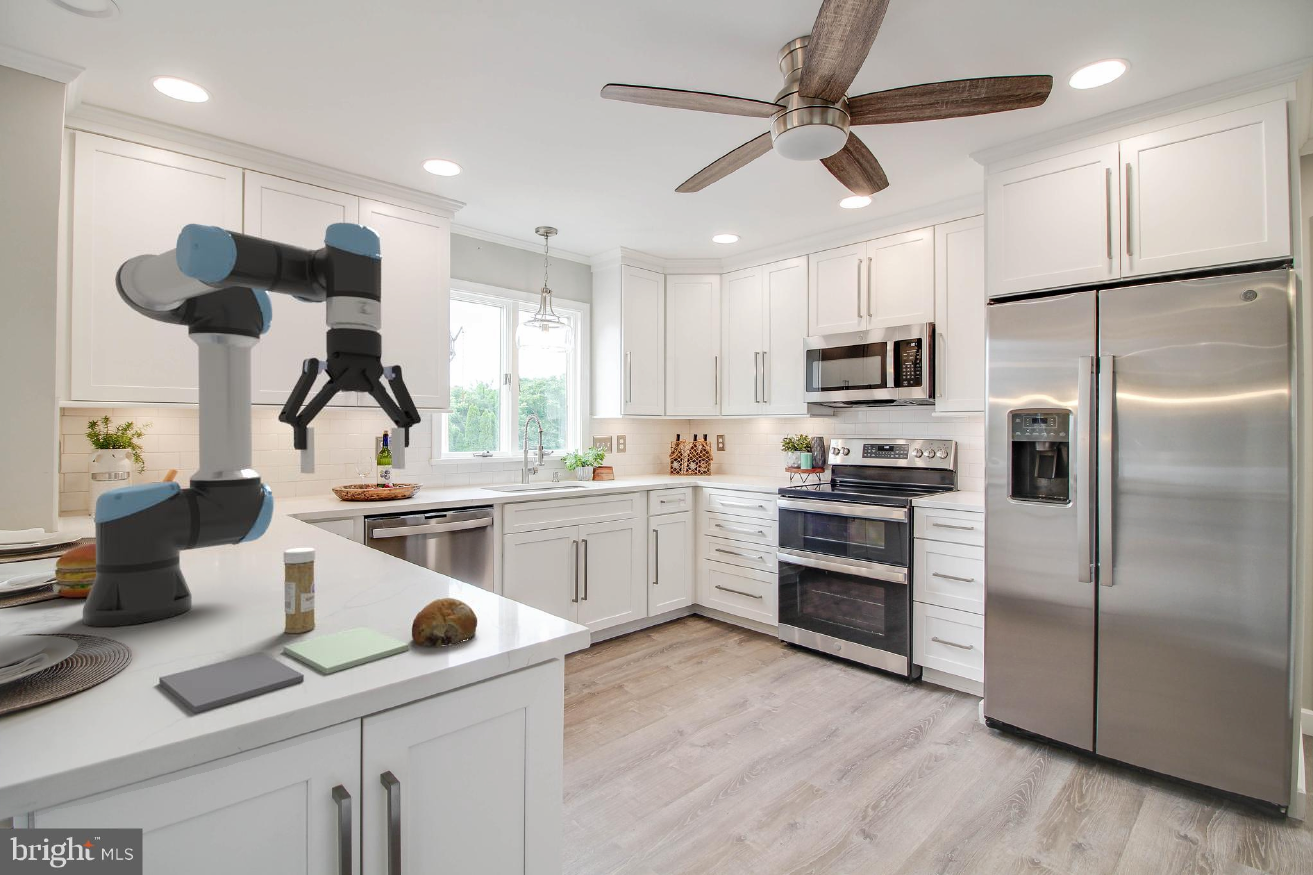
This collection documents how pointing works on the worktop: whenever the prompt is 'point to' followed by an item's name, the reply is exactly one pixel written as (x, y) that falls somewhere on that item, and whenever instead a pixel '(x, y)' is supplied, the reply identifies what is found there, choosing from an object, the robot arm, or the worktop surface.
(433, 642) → the bread roll
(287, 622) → the spice jar
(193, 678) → the pad
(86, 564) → the burger
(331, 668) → the pad
